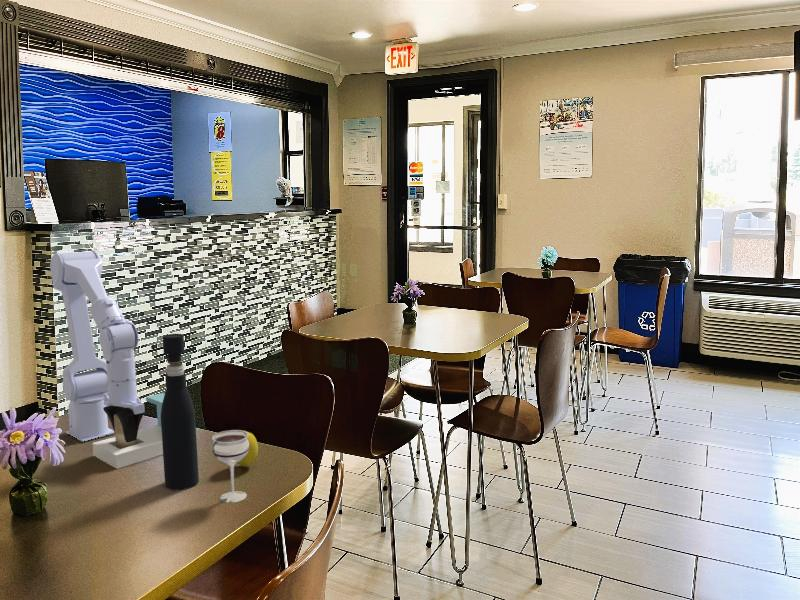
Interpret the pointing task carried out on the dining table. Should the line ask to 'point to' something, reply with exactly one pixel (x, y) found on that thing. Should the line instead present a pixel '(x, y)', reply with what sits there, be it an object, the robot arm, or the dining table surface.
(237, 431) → the wineglass
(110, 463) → the socket block
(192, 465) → the wine bottle
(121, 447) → the peg
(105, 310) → the robot arm
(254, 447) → the lemon
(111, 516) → the dining table surface
